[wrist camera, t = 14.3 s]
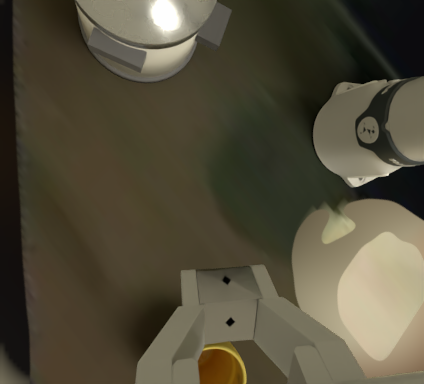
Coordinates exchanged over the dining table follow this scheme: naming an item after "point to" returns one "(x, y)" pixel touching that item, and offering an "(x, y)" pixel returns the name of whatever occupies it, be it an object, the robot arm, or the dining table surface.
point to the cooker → (151, 50)
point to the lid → (148, 20)
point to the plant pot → (221, 365)
